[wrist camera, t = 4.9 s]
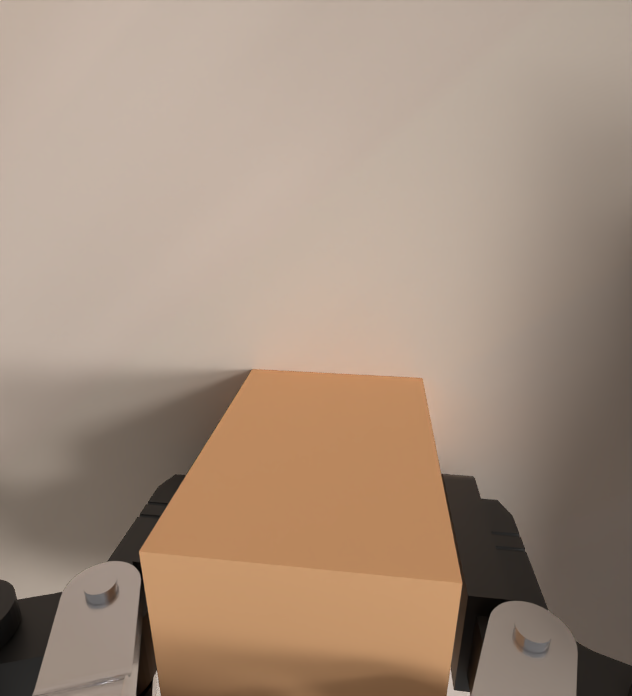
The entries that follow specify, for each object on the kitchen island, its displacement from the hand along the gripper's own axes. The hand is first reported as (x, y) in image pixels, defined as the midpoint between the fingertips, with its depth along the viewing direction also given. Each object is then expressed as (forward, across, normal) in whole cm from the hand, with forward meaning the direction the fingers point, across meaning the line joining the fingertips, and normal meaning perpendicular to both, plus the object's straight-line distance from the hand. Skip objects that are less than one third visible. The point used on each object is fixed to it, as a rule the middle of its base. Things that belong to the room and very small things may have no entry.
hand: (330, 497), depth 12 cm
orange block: (+1, 0, 0) cm, 1 cm away
